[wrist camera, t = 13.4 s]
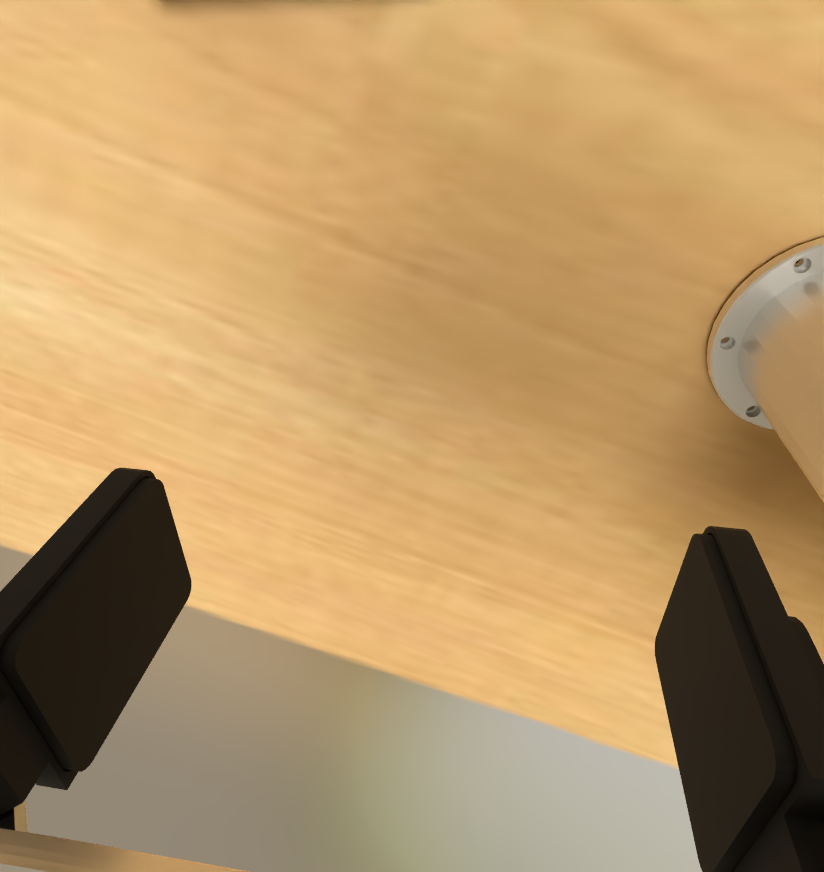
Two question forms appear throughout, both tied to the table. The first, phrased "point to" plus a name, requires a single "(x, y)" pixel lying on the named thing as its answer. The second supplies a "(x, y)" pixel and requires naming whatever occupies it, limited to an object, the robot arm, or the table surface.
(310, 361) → the table surface
